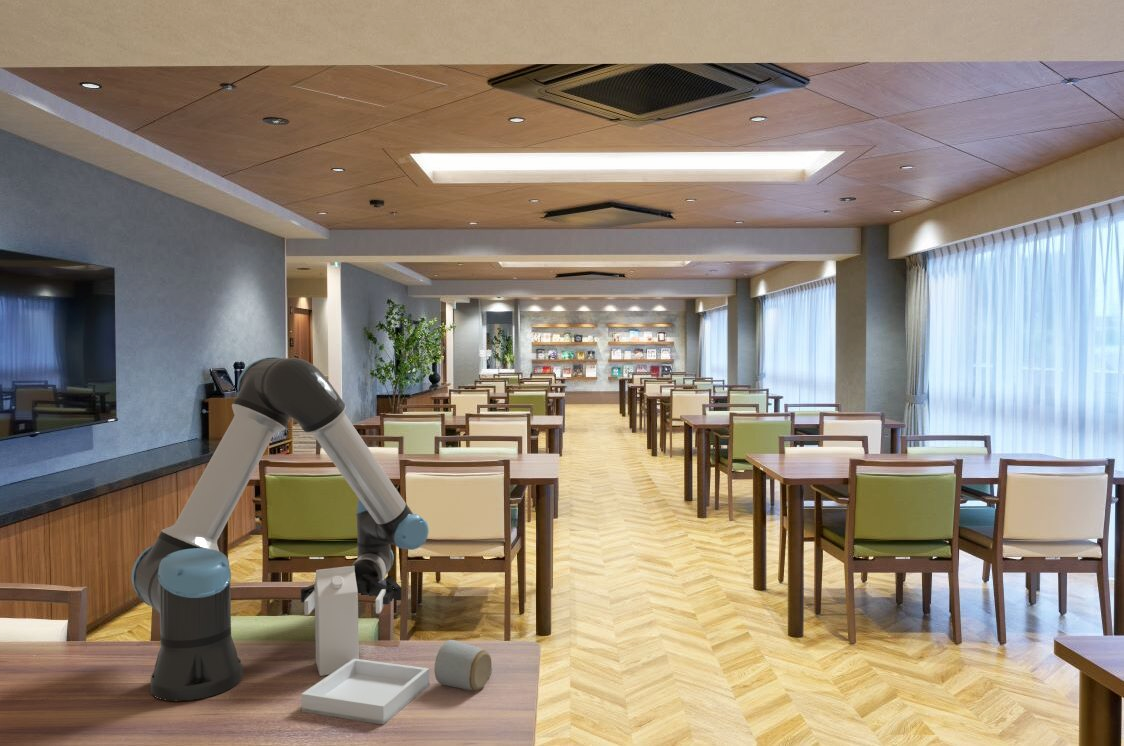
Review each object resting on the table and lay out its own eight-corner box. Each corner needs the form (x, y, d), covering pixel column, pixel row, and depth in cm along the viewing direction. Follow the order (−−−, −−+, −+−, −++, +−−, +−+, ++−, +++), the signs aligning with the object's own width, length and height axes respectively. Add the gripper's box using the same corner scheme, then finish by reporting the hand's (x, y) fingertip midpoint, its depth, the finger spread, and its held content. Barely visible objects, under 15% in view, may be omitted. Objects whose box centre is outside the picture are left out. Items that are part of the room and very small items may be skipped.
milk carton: (315, 663, 150) (313, 565, 150) (353, 656, 153) (351, 561, 153) (319, 677, 144) (317, 575, 143) (359, 670, 147) (357, 570, 146)
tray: (301, 711, 130) (301, 693, 130) (354, 674, 145) (354, 658, 145) (383, 724, 125) (383, 706, 125) (429, 684, 140) (429, 668, 140)
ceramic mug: (472, 698, 134) (472, 654, 134) (433, 690, 138) (433, 647, 138) (503, 676, 144) (503, 635, 144) (465, 669, 147) (465, 628, 147)
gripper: (422, 591, 172) (407, 625, 151) (308, 593, 171) (276, 627, 150) (422, 557, 172) (407, 586, 150) (307, 559, 171) (276, 589, 149)
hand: (342, 607), depth 150 cm, fingers open, 13 cm apart
